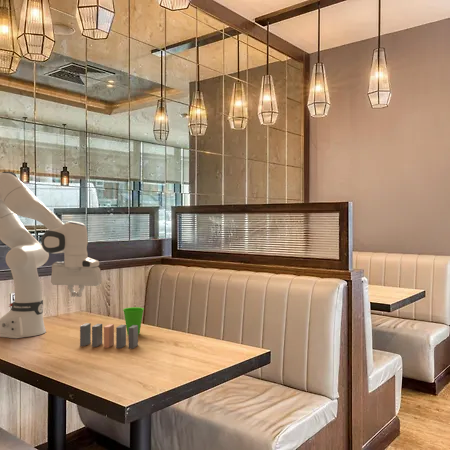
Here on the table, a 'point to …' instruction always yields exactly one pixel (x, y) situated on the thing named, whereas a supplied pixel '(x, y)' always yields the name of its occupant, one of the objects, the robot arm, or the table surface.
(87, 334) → the domino
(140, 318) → the cup
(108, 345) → the domino
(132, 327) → the domino
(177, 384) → the table surface
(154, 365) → the table surface
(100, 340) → the domino
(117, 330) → the domino
